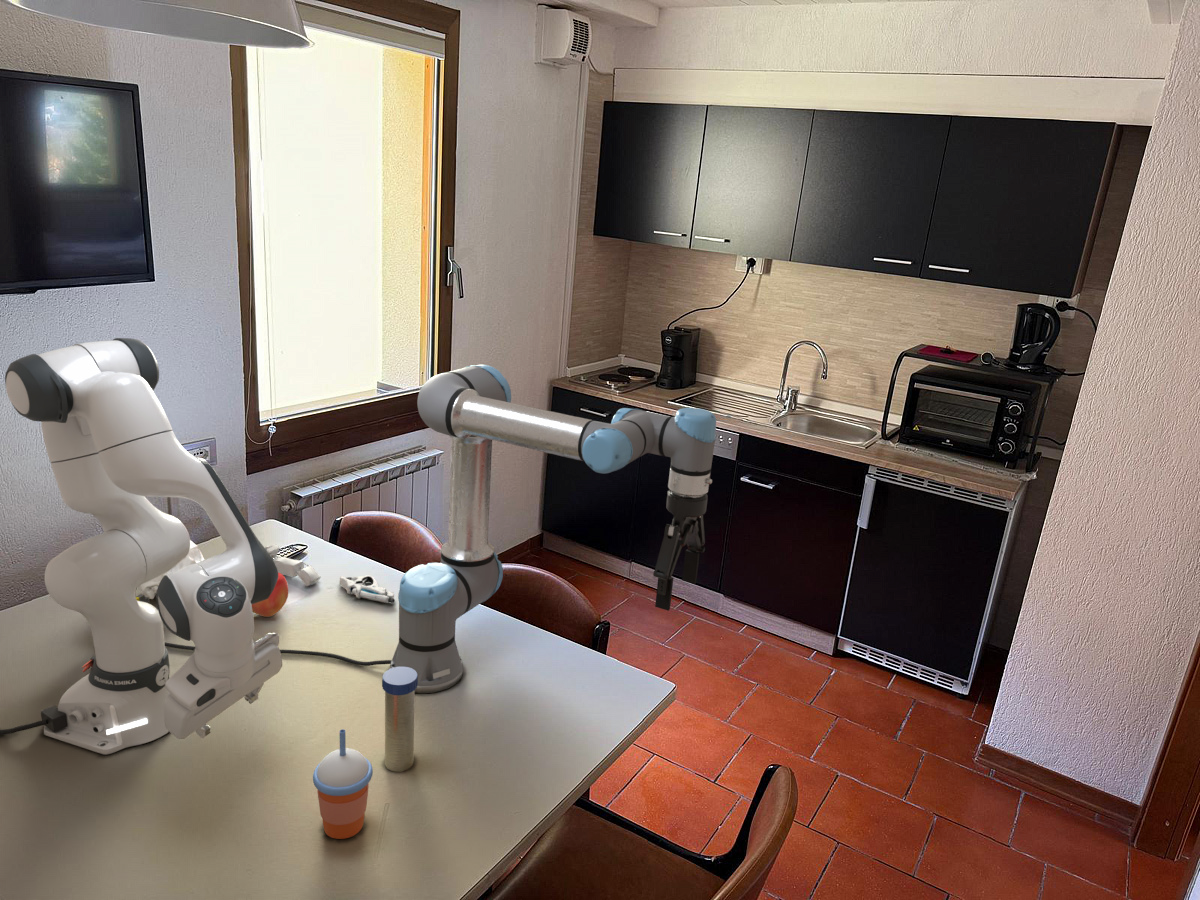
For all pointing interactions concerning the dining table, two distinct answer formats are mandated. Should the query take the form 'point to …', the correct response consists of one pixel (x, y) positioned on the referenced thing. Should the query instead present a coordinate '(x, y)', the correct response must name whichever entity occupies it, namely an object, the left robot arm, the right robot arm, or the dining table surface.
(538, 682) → the dining table surface
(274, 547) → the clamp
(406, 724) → the silver metal cylinder
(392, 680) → the lid
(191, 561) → the skull
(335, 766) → the cup with straw
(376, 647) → the dining table surface
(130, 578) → the left robot arm
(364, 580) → the toy gun
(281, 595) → the apple
